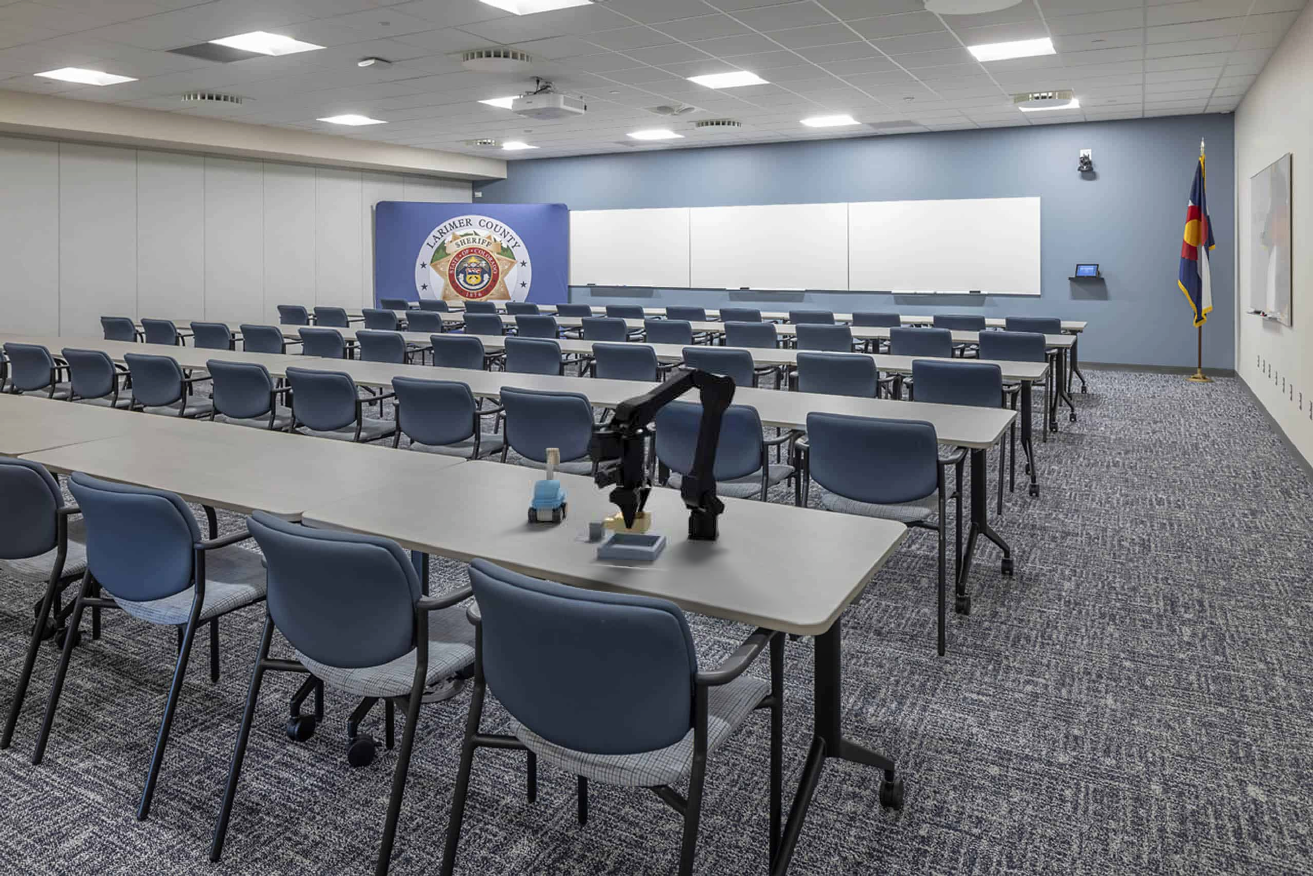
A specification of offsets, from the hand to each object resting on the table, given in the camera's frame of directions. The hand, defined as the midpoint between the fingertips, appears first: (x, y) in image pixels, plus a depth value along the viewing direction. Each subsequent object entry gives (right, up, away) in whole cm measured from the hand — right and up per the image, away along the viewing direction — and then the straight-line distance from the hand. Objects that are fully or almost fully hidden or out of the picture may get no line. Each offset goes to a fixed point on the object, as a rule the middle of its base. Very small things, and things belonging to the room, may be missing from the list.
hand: (632, 524), depth 212 cm
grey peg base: (-9, -4, +12) cm, 16 cm away
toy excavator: (-22, -1, +30) cm, 38 cm away
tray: (0, -6, +1) cm, 7 cm away
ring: (-2, -1, +1) cm, 2 cm away
